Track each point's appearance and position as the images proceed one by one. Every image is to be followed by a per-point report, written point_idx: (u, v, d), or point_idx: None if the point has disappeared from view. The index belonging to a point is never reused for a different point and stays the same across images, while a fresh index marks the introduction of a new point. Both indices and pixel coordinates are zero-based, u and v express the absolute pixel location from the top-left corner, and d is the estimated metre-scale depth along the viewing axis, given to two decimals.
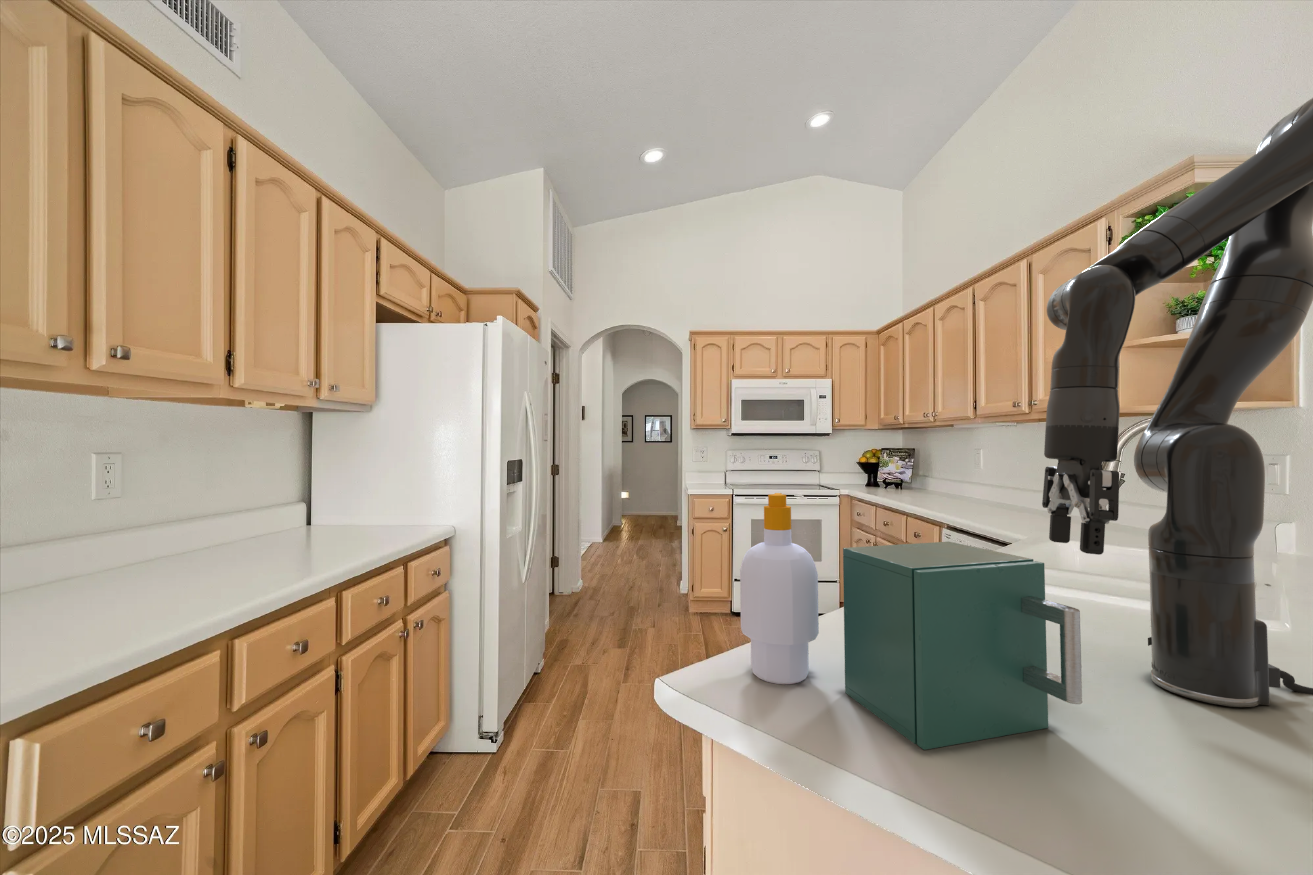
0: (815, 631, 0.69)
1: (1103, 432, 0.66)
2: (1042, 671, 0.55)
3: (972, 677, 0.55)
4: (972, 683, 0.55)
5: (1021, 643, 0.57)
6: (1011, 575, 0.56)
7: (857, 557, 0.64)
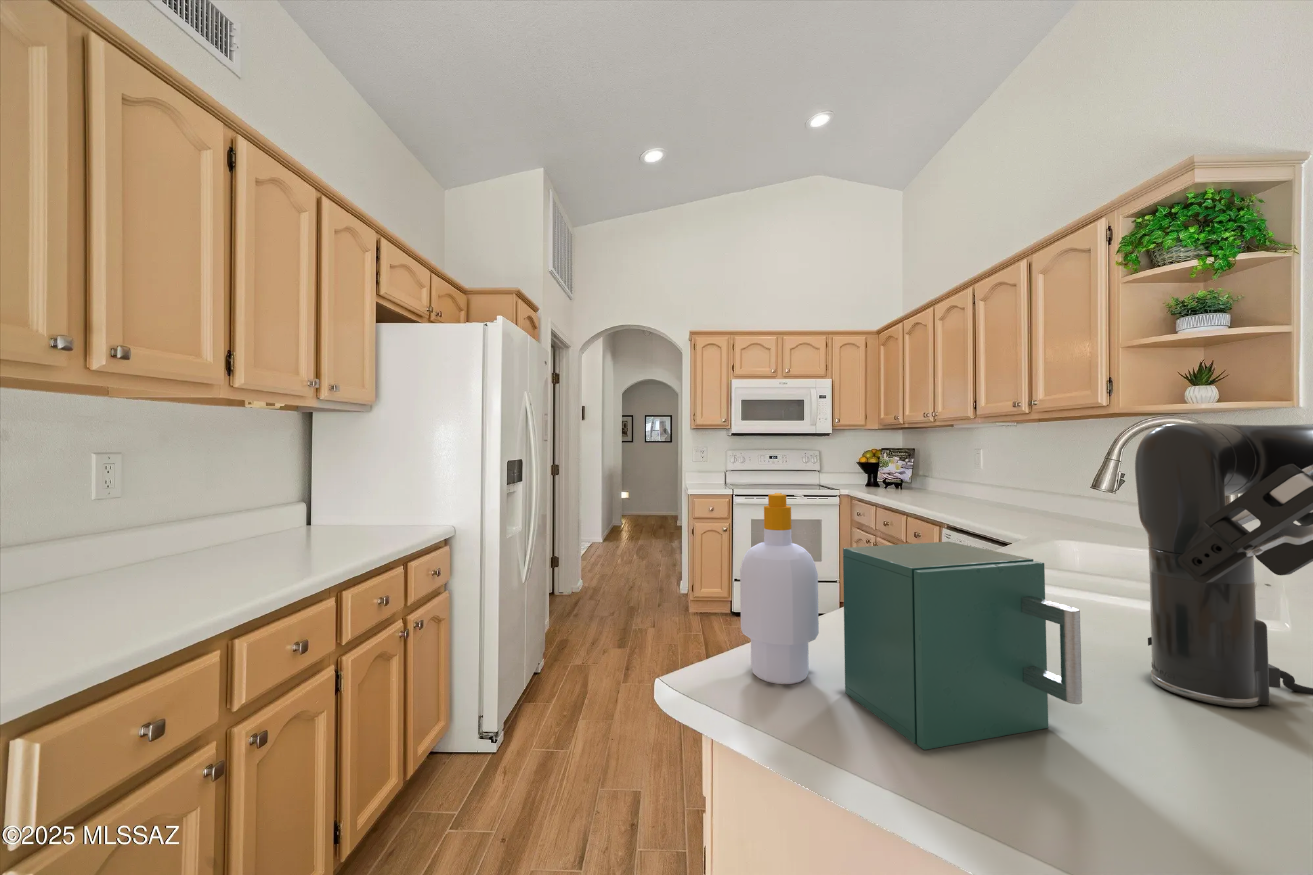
0: (815, 631, 0.69)
1: None
2: (1042, 671, 0.55)
3: (972, 677, 0.55)
4: (972, 683, 0.55)
5: (1021, 643, 0.57)
6: (1011, 575, 0.56)
7: (857, 557, 0.64)
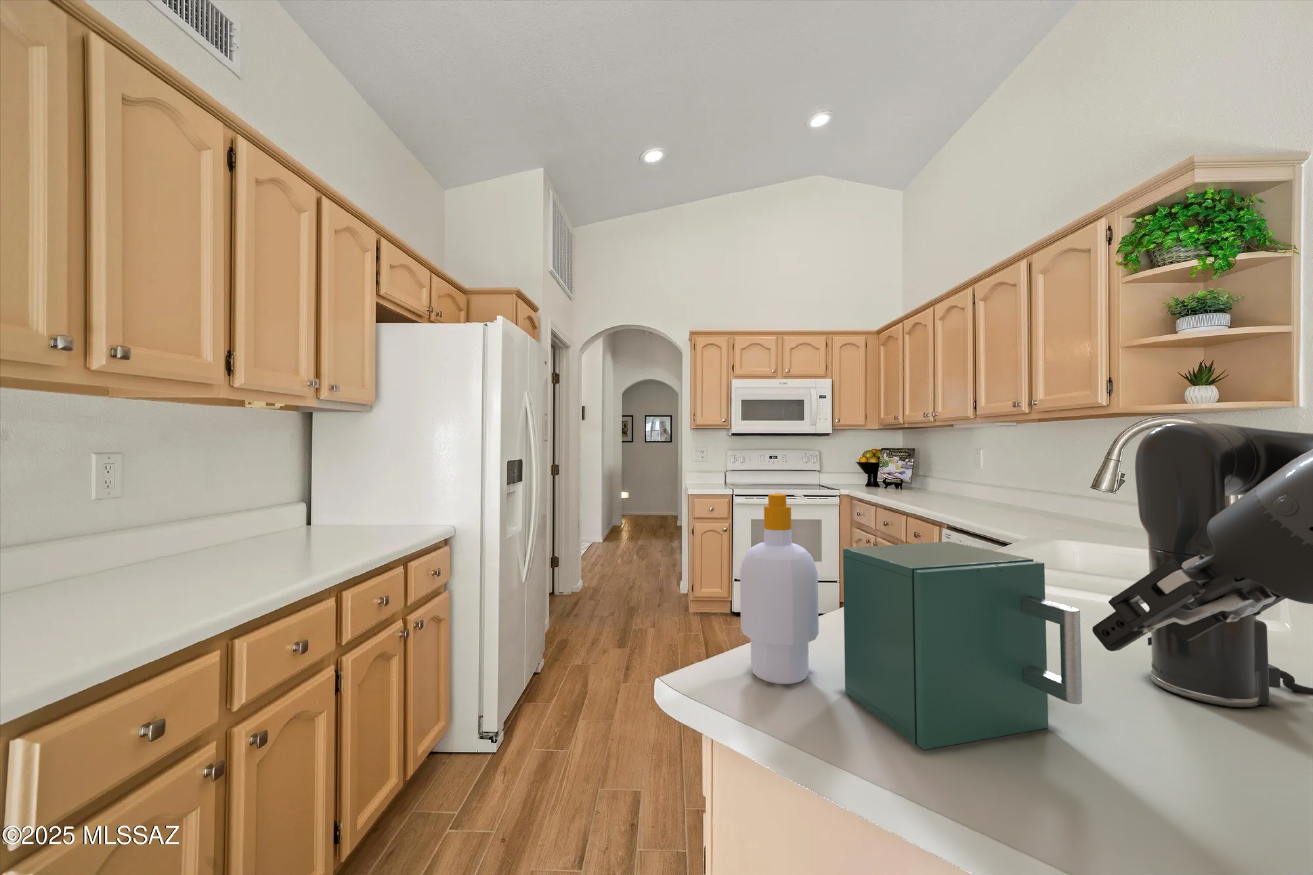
0: (815, 631, 0.69)
1: (1286, 543, 0.35)
2: (1042, 671, 0.55)
3: (972, 677, 0.55)
4: (972, 683, 0.55)
5: (1021, 643, 0.57)
6: (1011, 575, 0.56)
7: (857, 557, 0.64)
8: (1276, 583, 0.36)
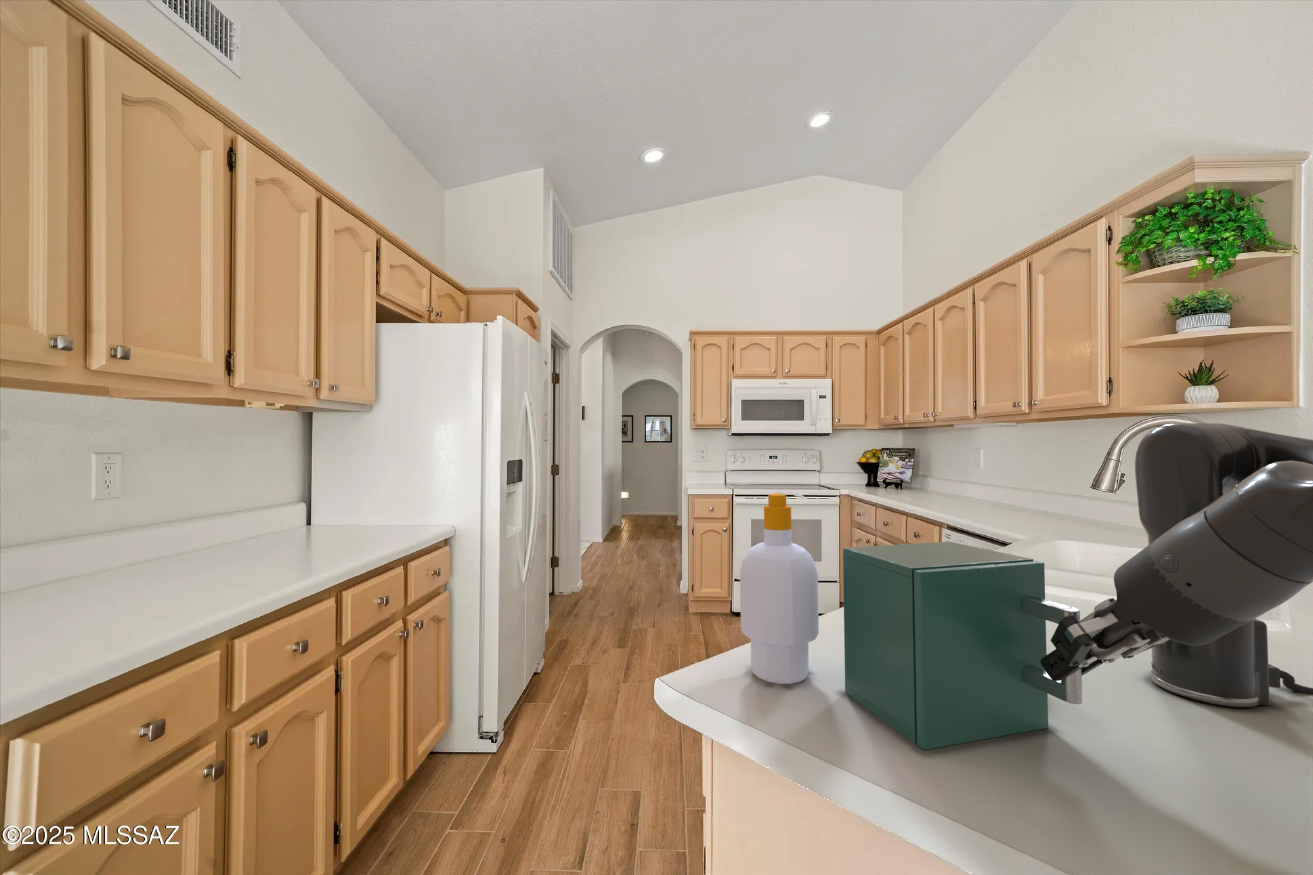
0: (815, 631, 0.69)
1: (1169, 595, 0.41)
2: (1042, 671, 0.55)
3: (972, 677, 0.55)
4: (972, 683, 0.55)
5: (1021, 643, 0.57)
6: (1011, 575, 0.56)
7: (857, 557, 0.64)
8: (1163, 628, 0.42)
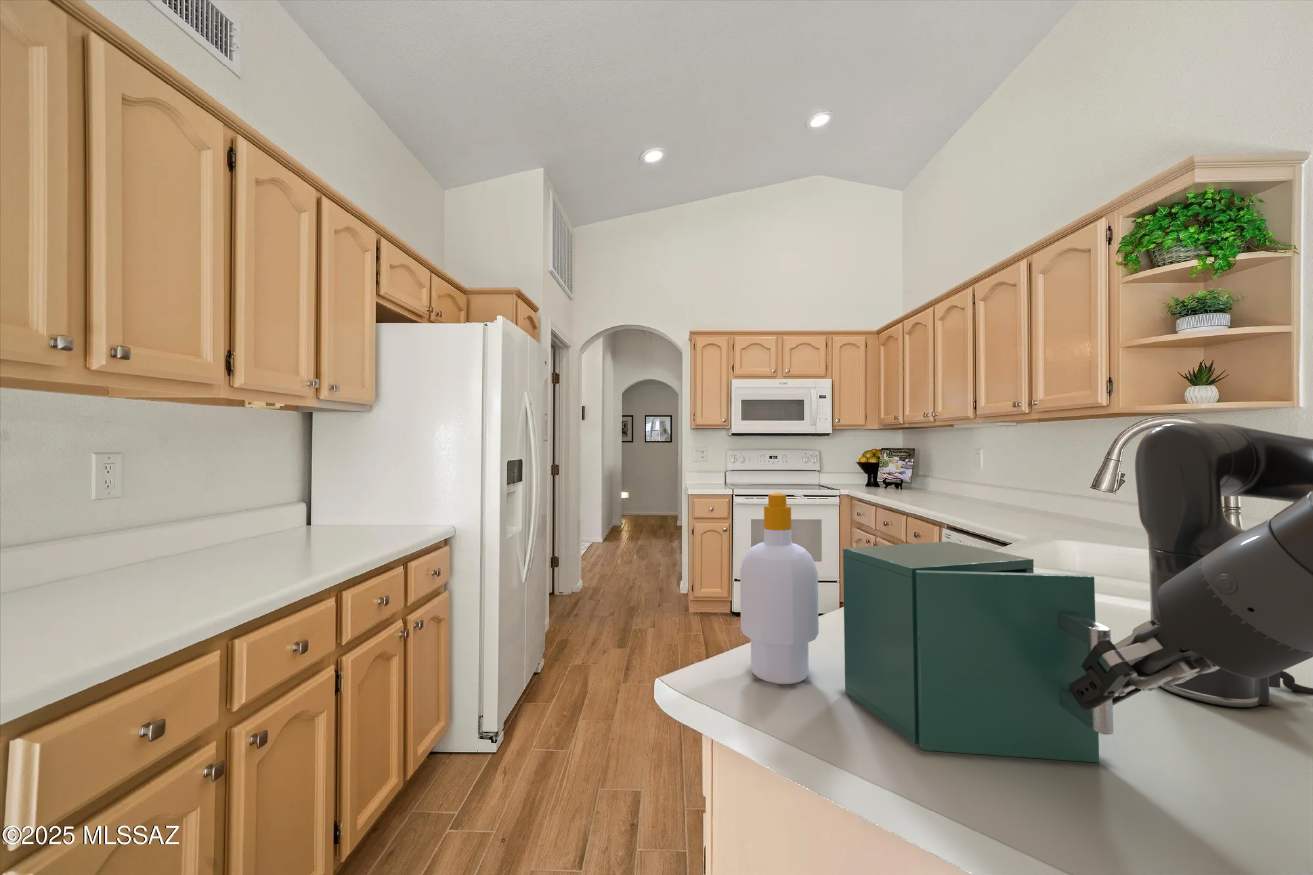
0: (815, 631, 0.69)
1: (1226, 621, 0.36)
2: None
3: (986, 688, 0.52)
4: (986, 694, 0.52)
5: (1057, 662, 0.52)
6: (1043, 586, 0.52)
7: (857, 557, 0.64)
8: (1218, 658, 0.36)
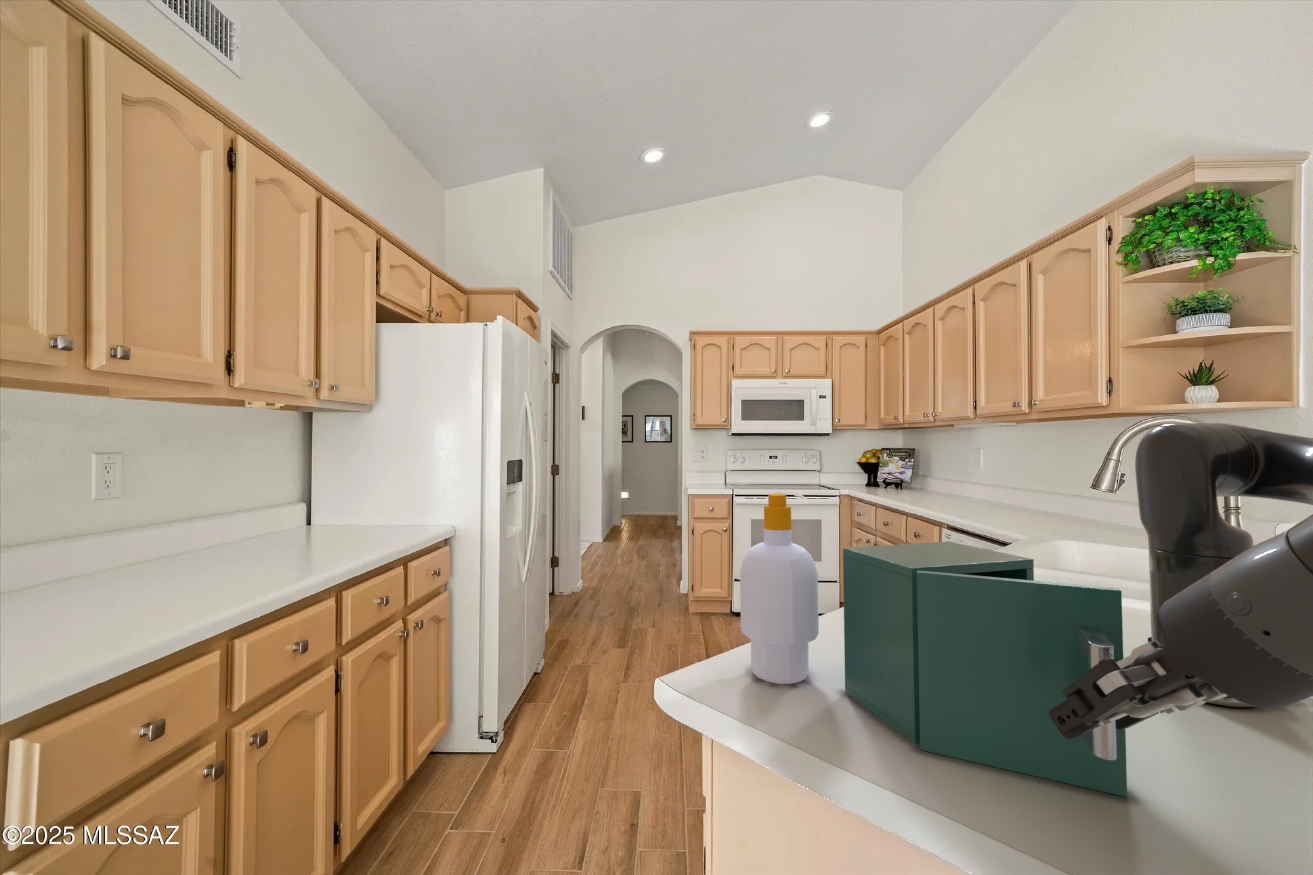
0: (815, 631, 0.69)
1: (1239, 645, 0.32)
2: None
3: (990, 697, 0.50)
4: (990, 703, 0.50)
5: (1075, 680, 0.48)
6: (1058, 596, 0.48)
7: (857, 557, 0.64)
8: (1229, 686, 0.33)
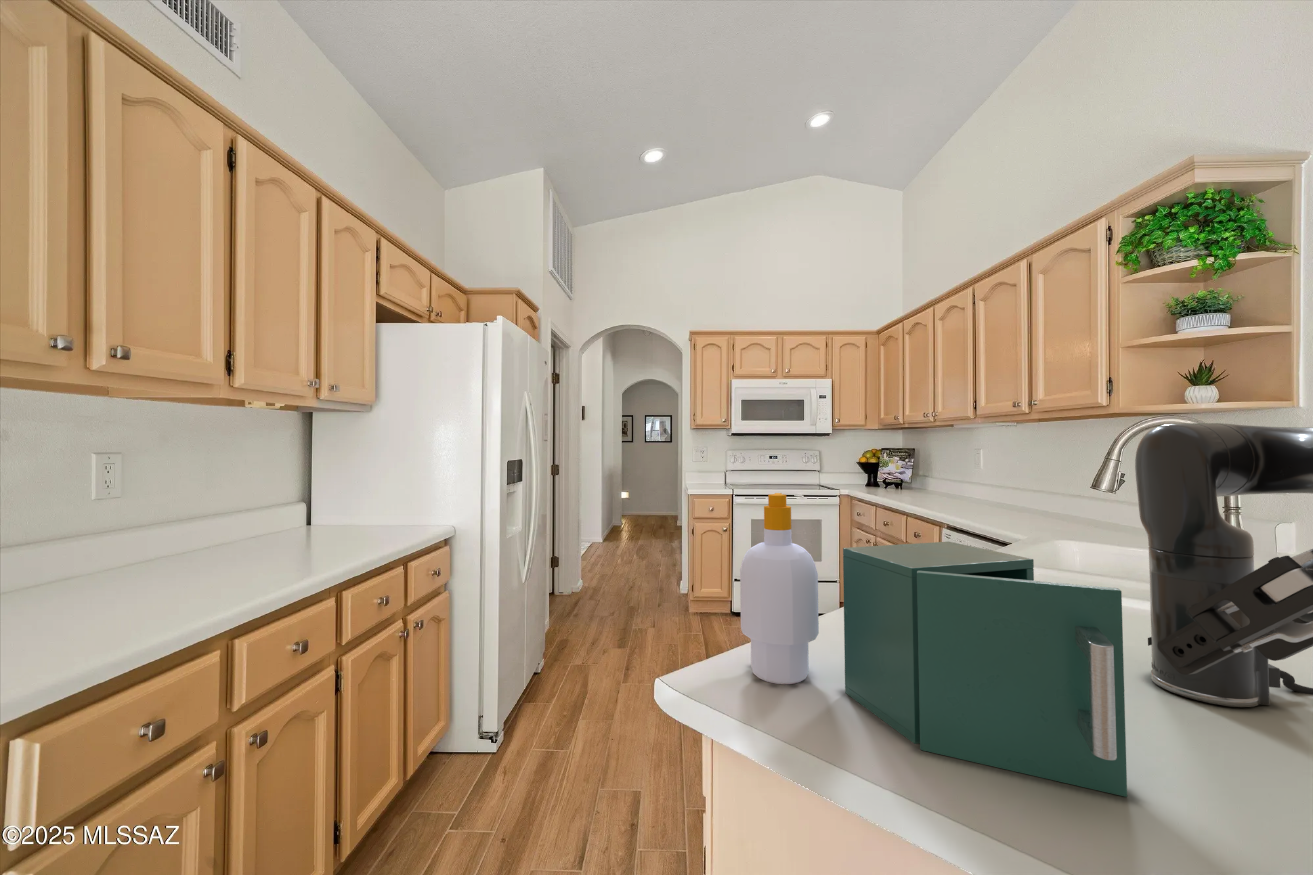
0: (815, 631, 0.69)
1: None
2: None
3: (990, 697, 0.50)
4: (990, 703, 0.50)
5: (1075, 680, 0.48)
6: (1058, 596, 0.48)
7: (857, 557, 0.64)
8: None
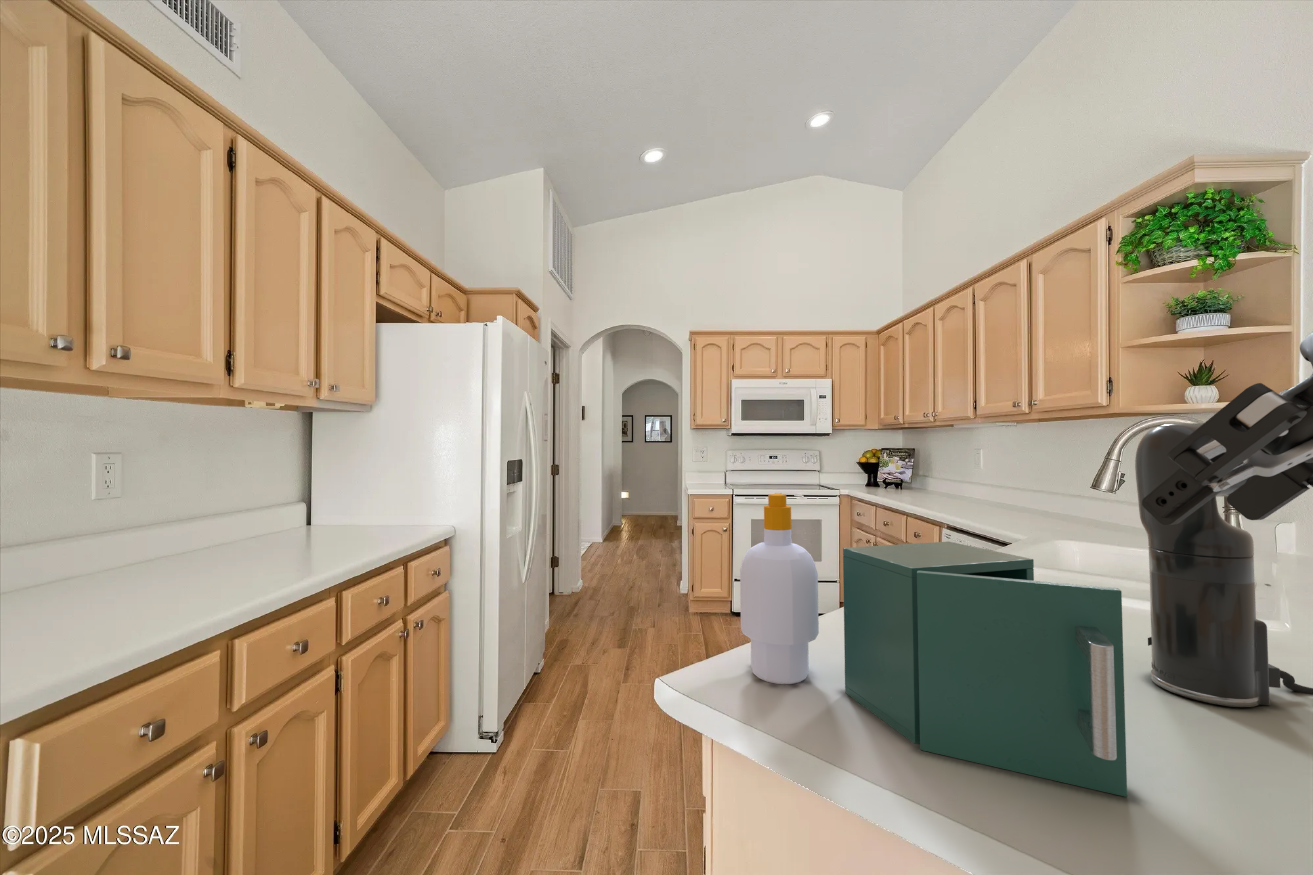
0: (815, 631, 0.69)
1: None
2: None
3: (990, 697, 0.50)
4: (990, 703, 0.50)
5: (1075, 680, 0.48)
6: (1058, 596, 0.48)
7: (857, 557, 0.64)
8: None
